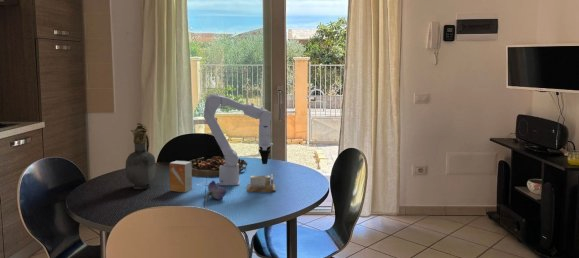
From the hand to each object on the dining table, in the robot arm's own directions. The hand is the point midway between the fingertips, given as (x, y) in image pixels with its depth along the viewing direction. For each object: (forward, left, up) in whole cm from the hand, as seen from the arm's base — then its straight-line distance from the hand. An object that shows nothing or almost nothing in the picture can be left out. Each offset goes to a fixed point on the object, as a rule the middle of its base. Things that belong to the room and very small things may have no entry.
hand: (264, 162), depth 236 cm
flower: (-21, -29, -10) cm, 37 cm away
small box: (-38, -14, -10) cm, 42 cm away
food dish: (-27, +28, -10) cm, 40 cm away
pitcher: (-57, -7, -10) cm, 58 cm away
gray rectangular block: (-2, -12, -9) cm, 15 cm away
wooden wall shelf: (-2, -12, -10) cm, 16 cm away
